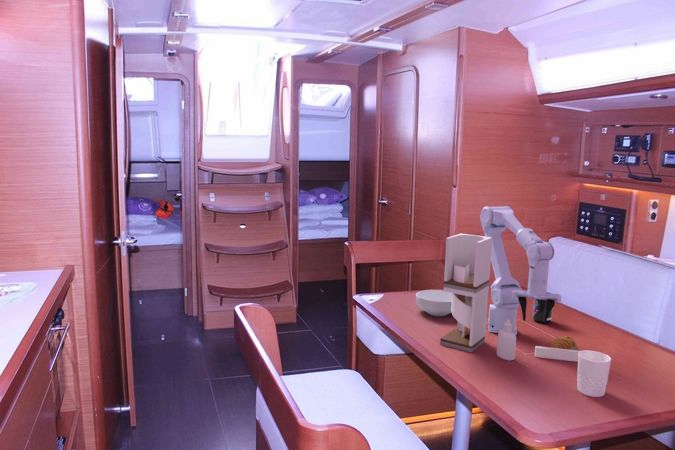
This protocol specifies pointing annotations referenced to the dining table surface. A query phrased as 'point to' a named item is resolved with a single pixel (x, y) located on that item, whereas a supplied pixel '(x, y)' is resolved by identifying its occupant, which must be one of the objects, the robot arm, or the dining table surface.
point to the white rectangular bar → (556, 353)
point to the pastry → (564, 343)
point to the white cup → (592, 373)
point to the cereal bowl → (434, 302)
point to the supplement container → (540, 311)
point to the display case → (467, 288)
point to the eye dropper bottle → (506, 342)
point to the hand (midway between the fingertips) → (534, 320)
